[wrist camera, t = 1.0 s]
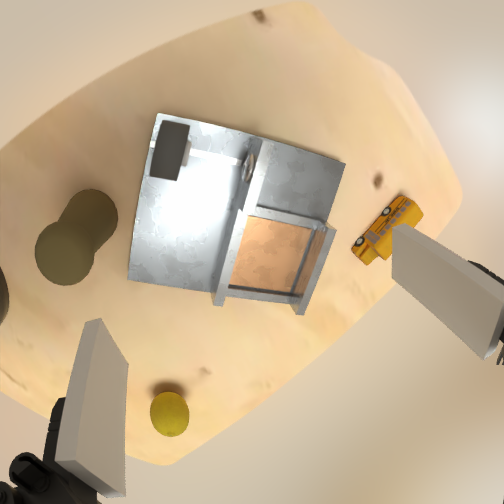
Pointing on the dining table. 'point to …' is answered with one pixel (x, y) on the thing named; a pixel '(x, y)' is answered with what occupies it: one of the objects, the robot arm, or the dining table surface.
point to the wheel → (170, 150)
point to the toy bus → (386, 230)
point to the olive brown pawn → (76, 237)
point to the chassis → (236, 218)
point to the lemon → (169, 414)
